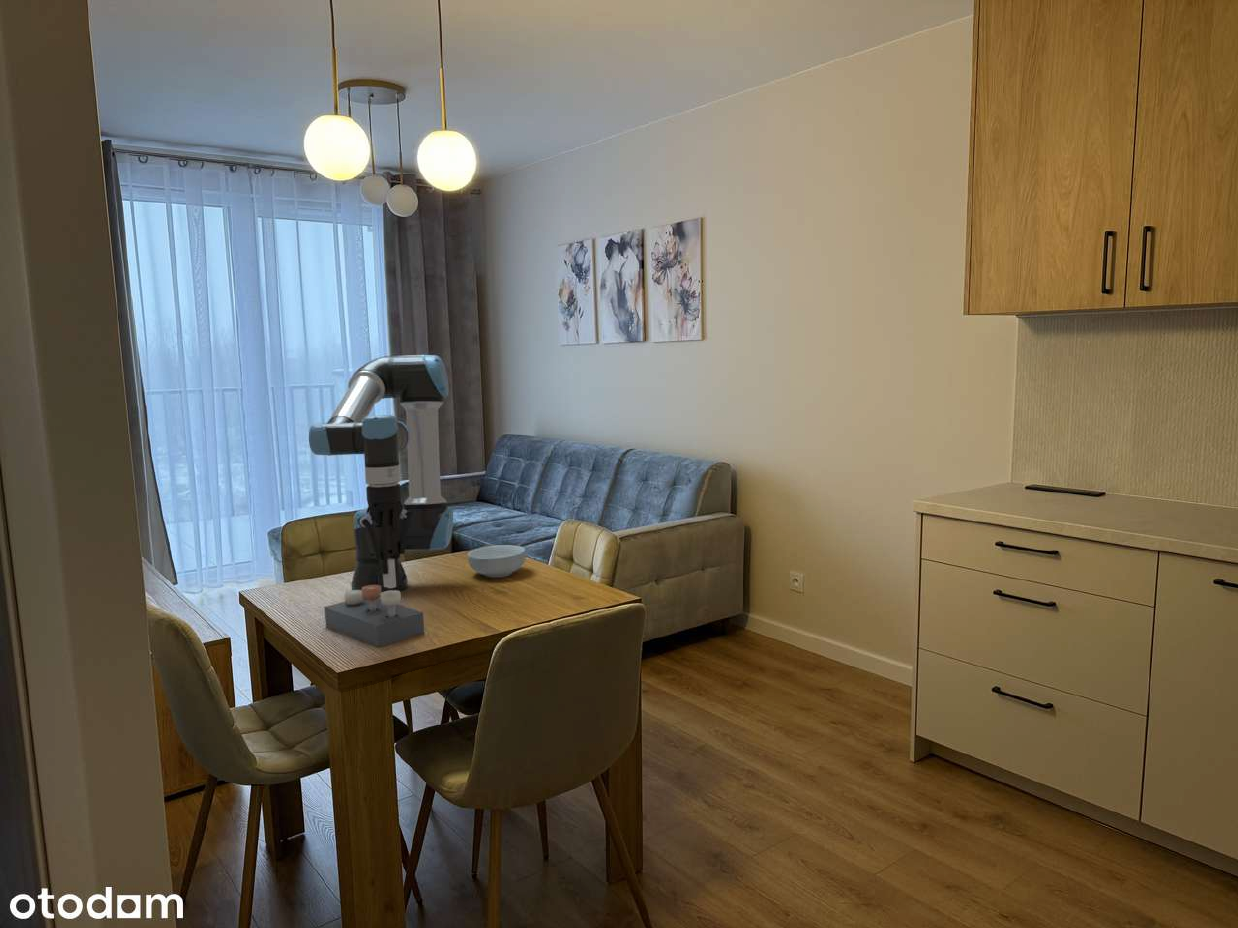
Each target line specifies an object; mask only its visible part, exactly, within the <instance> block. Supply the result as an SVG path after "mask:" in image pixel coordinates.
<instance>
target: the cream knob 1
mask: <svg viewBox="0 0 1238 928" xmlns="http://www.w3.org/2000/svg"><path fill="white" fill-rule="evenodd" d="M344 602H345V604H347V605H352V606H354V605H357V604H360V603H363V602H364V599H362V590H352V589H351V590H348V591H345V592H344Z"/></svg>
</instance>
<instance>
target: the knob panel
mask: <svg viewBox="0 0 1238 928" xmlns="http://www.w3.org/2000/svg"><path fill="white" fill-rule="evenodd" d="M323 608H324V618H325V619H324V620H325V621H324V622H325V627H326V628H328V629H329V630H332V631H334V632H336V633H337V632H338V633H340V634H343V635H345V636H347V637H351V638H353V639H356V640H358V641H361V642H364V643H365V644H369V645H371V646H374V647H377V648H381V647H384V646H388V645H391V644H394V643H398V642H400V641H405V640H407V639H410V638H413V637H417V636H419V635H423V634H425V628H424V627H425V624H424V612H422V611H420V610H418V609H413V608H411V607H407V606H404V605H401V604H398V605H395V615H396V617H393V618H388V606H383V605H381V598H378V599H376V611H372V612H370V611H369V600H364V602H363V603H360V604H357V605H354V606H352V605H347V604H345V601H341V602H339V603H334V604H330V605H327V606H324V607H323Z"/></svg>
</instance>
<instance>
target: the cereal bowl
mask: <svg viewBox="0 0 1238 928" xmlns="http://www.w3.org/2000/svg"><path fill="white" fill-rule="evenodd" d="M526 555H527V554H526V548H524V546H519V545H511V544H505V545H504V544H502V545H501V544H500V545H499V544H498V545H490V546H489V545H488V546H483V547H478V548H475V549H472V550H470V551H469V552H468V553H467V560H468V564H469V567H470V568H471V570H472V571H474V572H475V573H478V574H480V575H484V576H485V577H487V578H494V579H495V578H496V579H497V578H498V579H499V578H505V577H508V576H511V575H512V574H513V572H516V571H518V570H519V569H521V568H522V566H523V565H524V563H525V562H526Z"/></svg>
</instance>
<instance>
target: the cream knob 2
mask: <svg viewBox="0 0 1238 928" xmlns="http://www.w3.org/2000/svg"><path fill="white" fill-rule="evenodd" d="M380 595H381V598H380V599H381V605H383V606H388V618H393V617H396V615H395V605H401V603H402V595H401V591H397V590H391V591H385V592H382V593H381V594H380Z"/></svg>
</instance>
